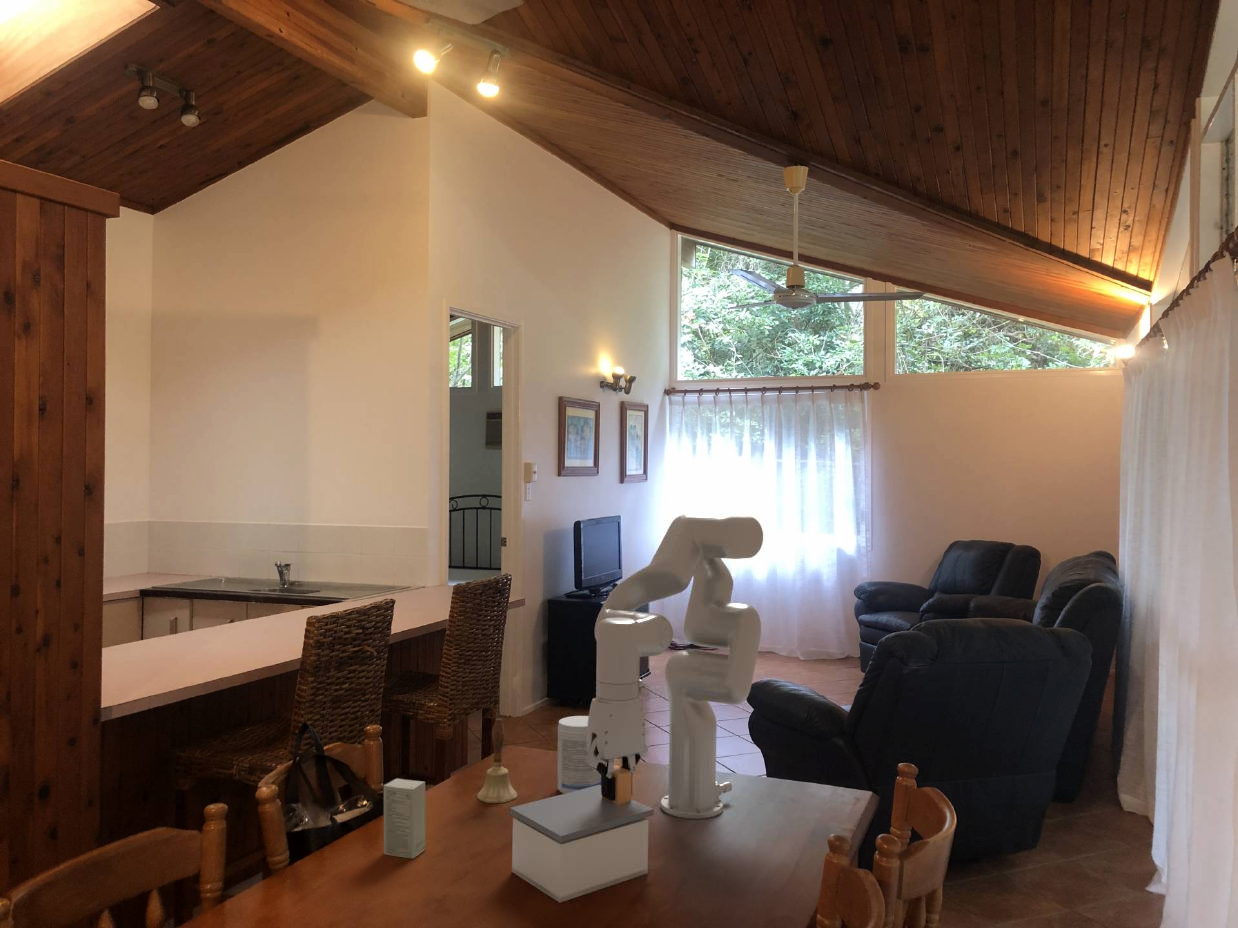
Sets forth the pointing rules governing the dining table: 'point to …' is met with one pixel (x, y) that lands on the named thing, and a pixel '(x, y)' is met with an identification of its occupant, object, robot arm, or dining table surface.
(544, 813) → the grey board with block
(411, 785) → the skincare box
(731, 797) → the dining table surface
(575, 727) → the supplement tub
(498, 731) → the hand bell
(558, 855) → the parts tub
